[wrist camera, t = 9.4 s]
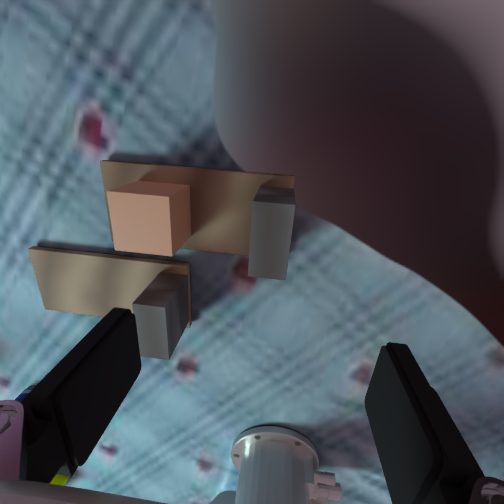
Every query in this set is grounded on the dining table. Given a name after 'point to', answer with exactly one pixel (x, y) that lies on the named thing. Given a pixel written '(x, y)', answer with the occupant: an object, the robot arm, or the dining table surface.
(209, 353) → the dining table surface
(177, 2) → the dining table surface
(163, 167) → the near strip
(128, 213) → the block
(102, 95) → the dining table surface
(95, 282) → the far strip
